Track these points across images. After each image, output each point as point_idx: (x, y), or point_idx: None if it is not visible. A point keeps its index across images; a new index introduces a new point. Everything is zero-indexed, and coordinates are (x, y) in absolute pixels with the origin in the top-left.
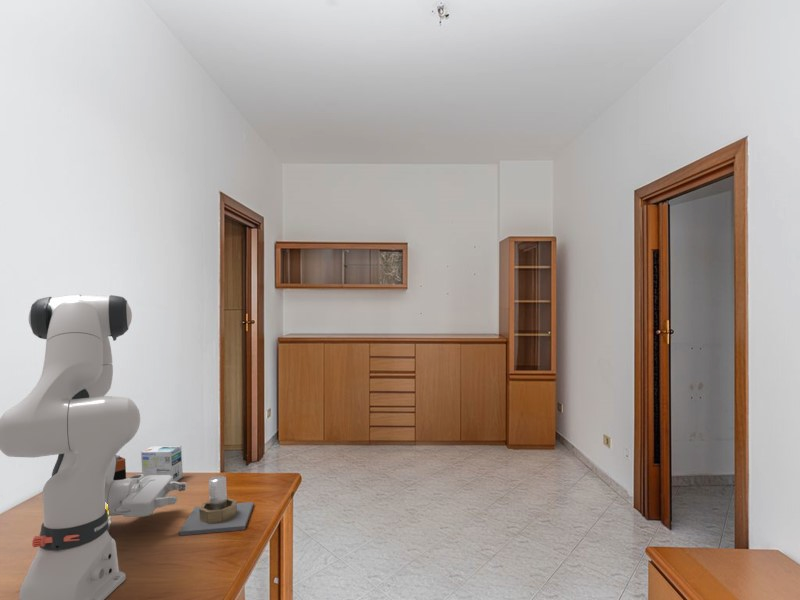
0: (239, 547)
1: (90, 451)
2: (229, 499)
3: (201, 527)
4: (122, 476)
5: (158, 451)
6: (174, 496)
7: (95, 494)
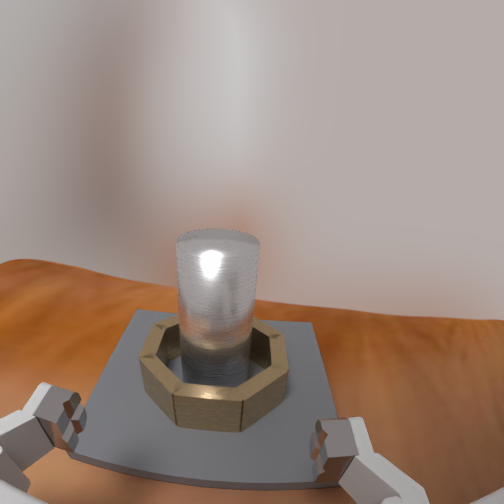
0: (398, 330)
1: None
2: (172, 321)
3: (316, 414)
4: None
5: None
6: (348, 419)
7: None
